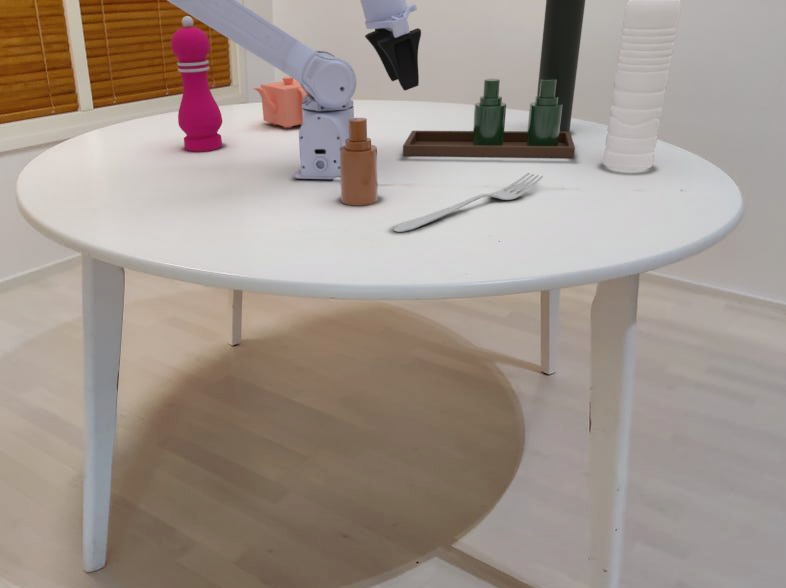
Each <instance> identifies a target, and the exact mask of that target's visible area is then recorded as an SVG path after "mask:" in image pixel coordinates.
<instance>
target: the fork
mask: <svg viewBox="0 0 786 588" xmlns="http://www.w3.org/2000/svg"><path fill="white" fill-rule="evenodd" d="M534 175H535V174H534V173H531V174H530V172H527V173H526V174H524V175H523V176H521V177H519V178H518V179H517V180H515V181H513V182H512V183H510V184H509V185H508V186H506V187H504V188H502V189H500V190H498V191H496V192H493V193H491V194H490V193H481V194H478V195H476V196H473V197H470V198H468V199H466V200H464V201H461V202H458V203H456V204H454V205H451V206H448V207H444V208H443V209H440V210H437V211H435V212H432V213H429V214H426V215H423V216H420V217H416V218H414V219H412V220H408V221H405V222H402V223H400V224H398V225H396V226H395V227H394V228H393V231H394V232H398V233H405V232H407V231H412V230H415V229H417V228H420V227H422V226H424V225H427V224H429V223H431V222H434V221H436V220H438V219H441V218H443V217H445V216H447V215H449V214H451V213H453V212H456V211H457V210H459V209H461V208H463V207H465V206H467V205H469V204H472V203H473V202H475V201H477V200H481V199H482V198H487V197H488V198H489V197H490V198H495V199H499V200H504V201H512V200H515V199H517V198H519V197H521V196H523V194H525V193H526V192H528V191H529V190H530V189H531V188H532V187H534V186H535V185H536V184H537V183H538V182H540V181H541V180H542V179H543V178H544V175H541V176H540V177H539V174H536V175H535V176H534ZM531 178H532V179H531Z"/></svg>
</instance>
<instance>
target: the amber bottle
mask: <svg viewBox="0 0 786 588" xmlns="http://www.w3.org/2000/svg"><path fill="white" fill-rule="evenodd" d="M348 123H349V138H348V139H346V140H345V146H343V147H341V148H340V177H339V178H340V198H341V199H340V201H341V203H343V204H344V205H348V206H356V207H357V206H358V207H359V206H367V205H372V204H375V203H376V202H378V147H377V146H376V145H373V144H372V139H371V138H369V137H368V119H367V118H365V117H354V118H351V119H349V120H348Z"/></svg>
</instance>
